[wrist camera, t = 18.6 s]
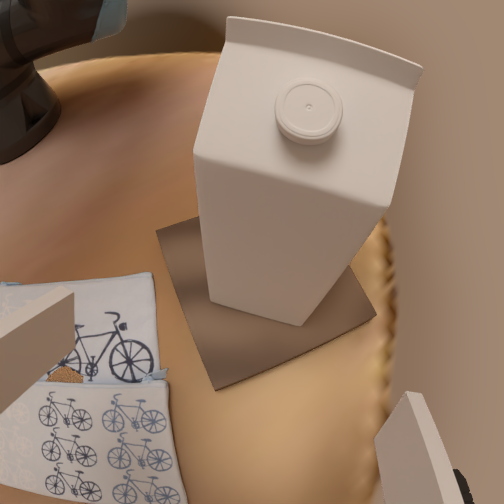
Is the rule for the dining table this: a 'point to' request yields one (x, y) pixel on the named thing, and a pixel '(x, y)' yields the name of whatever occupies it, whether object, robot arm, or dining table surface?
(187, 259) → the walnut board
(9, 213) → the dining table surface
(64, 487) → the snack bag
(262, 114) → the milk carton
